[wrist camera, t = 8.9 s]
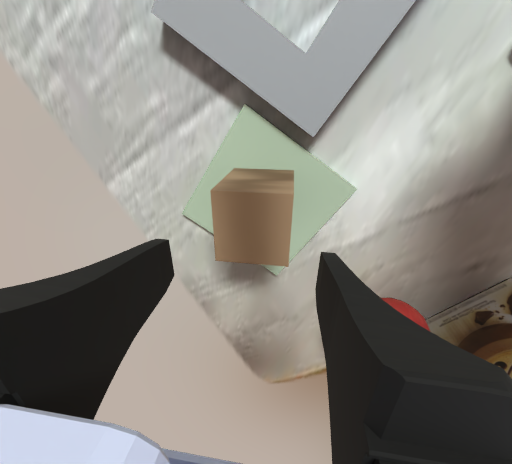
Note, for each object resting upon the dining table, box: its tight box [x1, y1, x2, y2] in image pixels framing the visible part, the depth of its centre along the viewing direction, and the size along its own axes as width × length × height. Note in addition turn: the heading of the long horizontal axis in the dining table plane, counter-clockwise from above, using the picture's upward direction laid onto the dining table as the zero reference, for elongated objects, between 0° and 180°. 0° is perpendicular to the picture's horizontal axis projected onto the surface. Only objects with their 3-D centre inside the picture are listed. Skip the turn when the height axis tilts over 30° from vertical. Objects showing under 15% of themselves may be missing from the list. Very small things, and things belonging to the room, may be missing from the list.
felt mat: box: [182, 104, 357, 275], centre depth 20 cm, size 10×10×1 cm
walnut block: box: [210, 168, 294, 267], centre depth 17 cm, size 4×4×6 cm
